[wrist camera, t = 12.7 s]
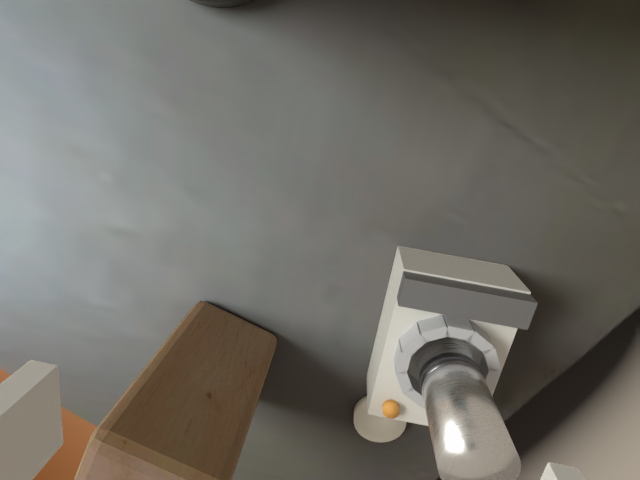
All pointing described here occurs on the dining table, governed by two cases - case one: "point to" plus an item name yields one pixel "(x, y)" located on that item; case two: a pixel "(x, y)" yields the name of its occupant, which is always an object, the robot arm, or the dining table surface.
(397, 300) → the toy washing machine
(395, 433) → the rear cap
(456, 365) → the grey tall rounded cylinder
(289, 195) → the dining table surface
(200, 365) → the wooden block
